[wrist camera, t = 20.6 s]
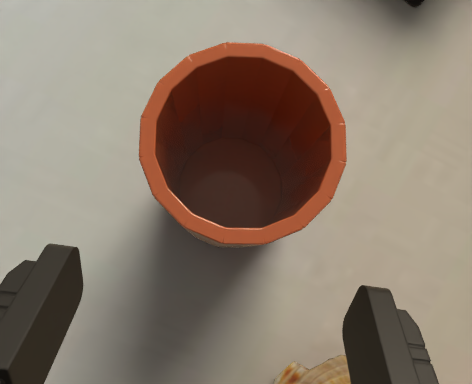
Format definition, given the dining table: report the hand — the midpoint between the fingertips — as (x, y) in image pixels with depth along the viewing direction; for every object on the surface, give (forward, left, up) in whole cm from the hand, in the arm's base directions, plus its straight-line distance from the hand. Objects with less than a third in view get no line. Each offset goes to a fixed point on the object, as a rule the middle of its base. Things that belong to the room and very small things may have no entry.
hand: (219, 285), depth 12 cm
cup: (+2, +4, -10) cm, 11 cm away
